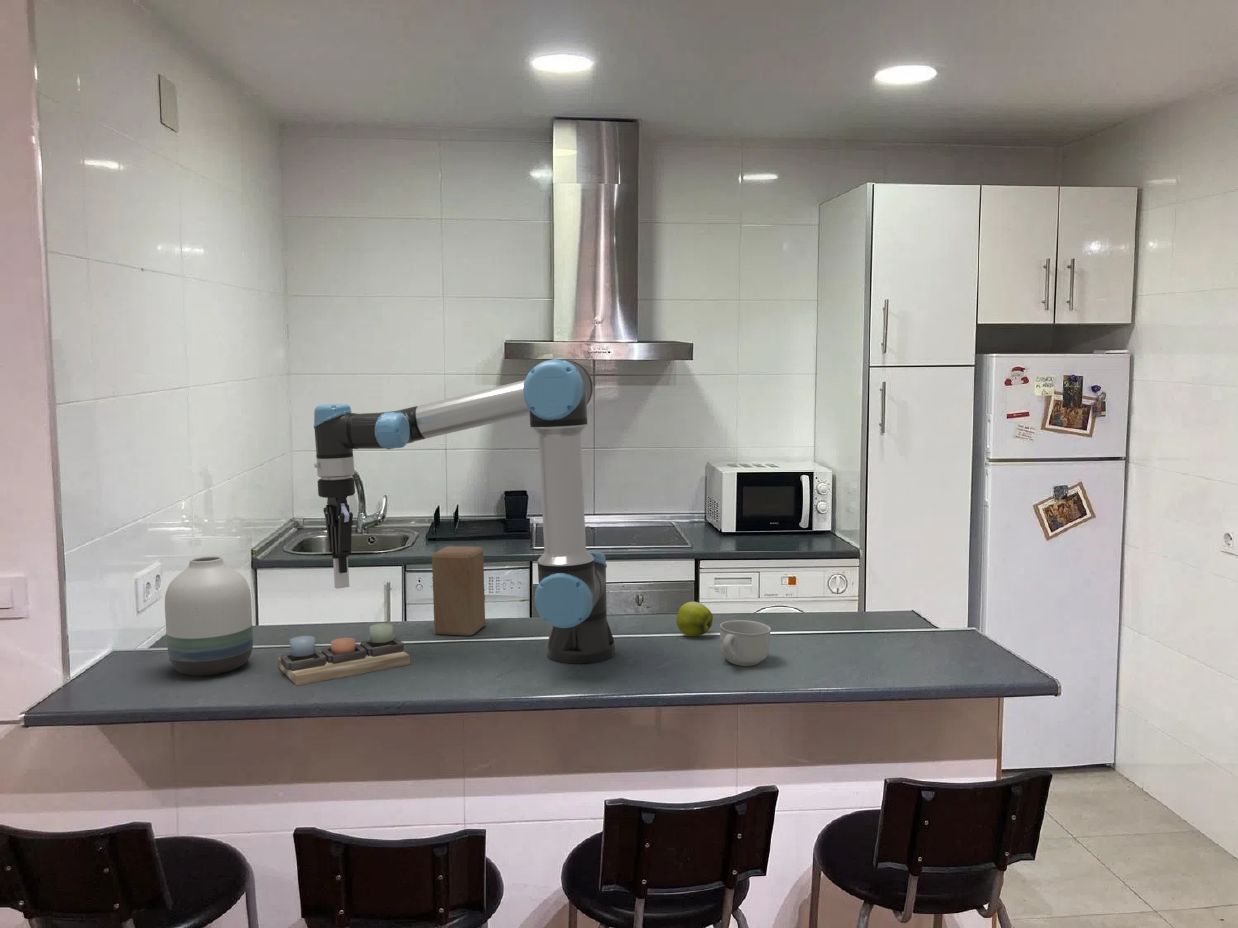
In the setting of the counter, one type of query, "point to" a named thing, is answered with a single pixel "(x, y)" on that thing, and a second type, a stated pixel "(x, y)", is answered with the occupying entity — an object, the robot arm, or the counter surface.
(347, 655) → the button panel
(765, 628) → the teacup
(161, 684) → the counter surface
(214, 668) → the vase
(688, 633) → the apple
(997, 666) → the counter surface
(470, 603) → the block
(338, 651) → the terracotta button
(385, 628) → the sage button
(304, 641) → the slate button
